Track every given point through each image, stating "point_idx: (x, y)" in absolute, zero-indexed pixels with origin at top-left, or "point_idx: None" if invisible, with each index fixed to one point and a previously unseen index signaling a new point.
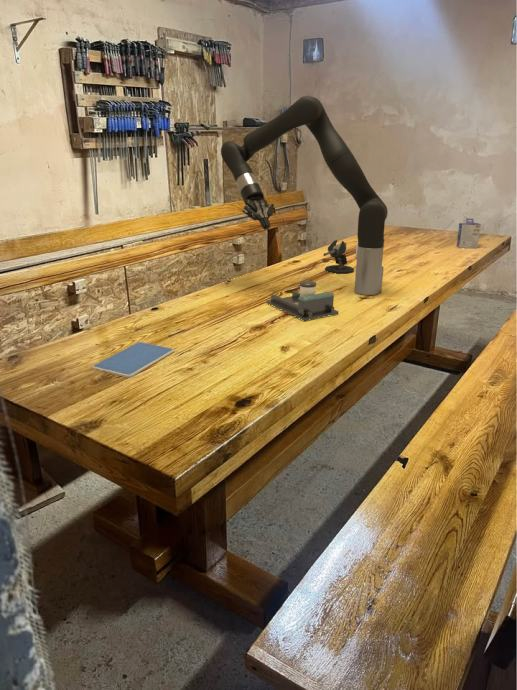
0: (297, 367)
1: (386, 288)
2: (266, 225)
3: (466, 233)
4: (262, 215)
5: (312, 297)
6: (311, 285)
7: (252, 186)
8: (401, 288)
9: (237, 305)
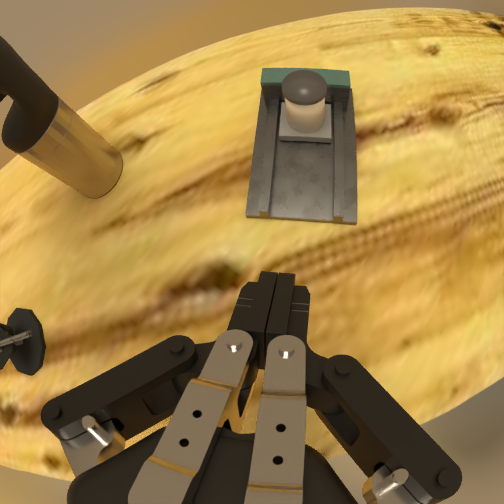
0: (436, 22)
1: None
2: (294, 276)
3: None
4: (281, 350)
5: (323, 71)
6: (308, 71)
7: None
8: None
9: (425, 255)
